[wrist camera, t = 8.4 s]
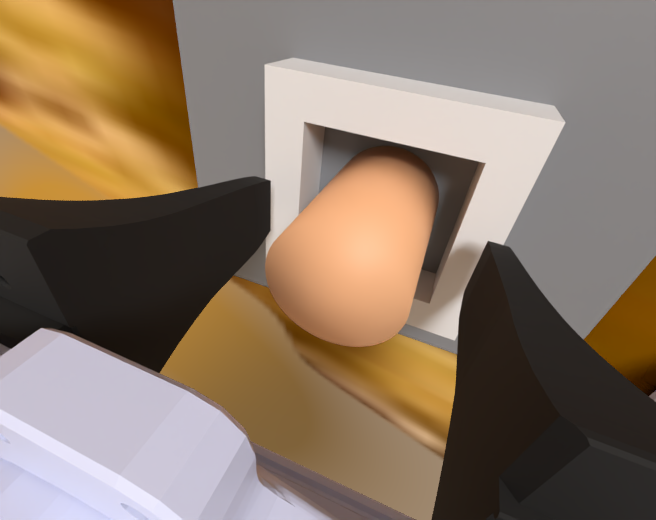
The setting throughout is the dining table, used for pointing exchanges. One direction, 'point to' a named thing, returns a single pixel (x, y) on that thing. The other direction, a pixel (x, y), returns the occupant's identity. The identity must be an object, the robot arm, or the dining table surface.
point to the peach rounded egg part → (357, 249)
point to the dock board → (445, 128)
